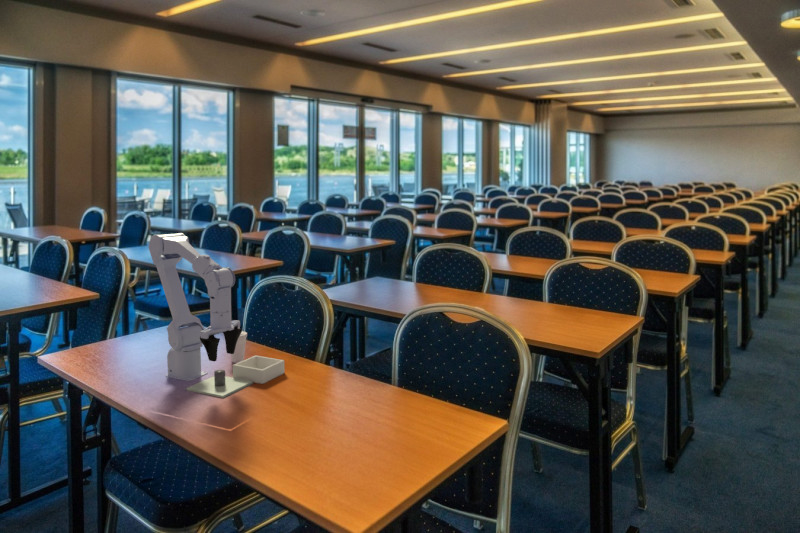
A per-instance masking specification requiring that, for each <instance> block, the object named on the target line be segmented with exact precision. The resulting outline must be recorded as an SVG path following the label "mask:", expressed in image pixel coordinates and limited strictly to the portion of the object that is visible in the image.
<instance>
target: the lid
mask: <svg viewBox="0 0 800 533" xmlns="http://www.w3.org/2000/svg"><path fill="white" fill-rule="evenodd" d="M213 373H214V374H213V376H210V377H208V378H207V379H204V380H202V381H199V382H197V383H195V384H192V385H190V386H188V387H186V389H185V391H187V390H188V392H192V391H193V393H197V392H198V394H201V393H202V394H203V395H206V394H207V395H208V396H211V395H212V397H215V396H216V397H217V398H220V397H221V399H225V398H224V397H226V396H228V395H230V394H232V393H234V392H236V391H238V390H240V389H242V388H244V387H246V386H248V385H250V384H252V383H253V382H252V381H248V380H243V379H238V378H233V376H227V375H226V370H225V369H217V370H214V372H213ZM252 385H253V384H252ZM250 386H251V385H250ZM248 387H249V386H248ZM246 388H247V387H246ZM244 389H245V388H244ZM242 390H243V389H242ZM240 391H241V390H240ZM238 392H239V391H238ZM236 393H237V392H236ZM234 394H235V393H234ZM232 395H233V394H232ZM230 396H231V395H230ZM228 397H229V396H228ZM226 398H227V397H226Z"/></svg>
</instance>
